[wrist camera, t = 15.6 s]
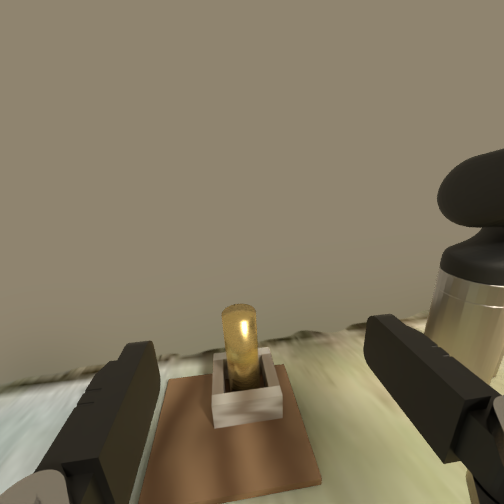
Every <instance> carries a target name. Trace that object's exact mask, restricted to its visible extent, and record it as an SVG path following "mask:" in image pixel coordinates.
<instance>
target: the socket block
mask: <svg viewBox="0 0 504 504" xmlns="http://www.w3.org/2000/svg"><path fill="white" fill-rule="evenodd" d="M258 359H259V376H260V388H259V389H251V390H244V391H237V392H230V383H229V375H228V366H227V357H226V352H223V353H214V354H213V374H206V375H198V376H191V377H183V378H176V379H169V382H168V386H167V390H166V394H165V398H164V402H163V406H162V410H161V414H160V418H159V422H158V426H157V430H156V434H155V438H154V442H153V446H152V450H151V454H150V458H149V462H148V466H147V470H146V474H145V478H144V482H143V486H142V490H141V494H140V498H139V502H138V504H221V503H226V502H231V501H237V500H242V499H247V498H252V497H258V496H263V495H268V494H273V493H279V492H284V491H289V490H294V489H300V488H305V487H310V486H315V485H321V481H322V478H321V475H320V472H319V469H318V466H317V463H316V460H315V457H314V454H313V451H312V448H311V445H310V442H309V439H308V436H307V433H306V430H305V427H304V424H303V421H302V417H301V414H300V411H299V408H298V405H297V402H296V399H295V396H294V393H293V390H292V387H291V384H290V381H289V378H288V375H287V372H286V369H285V366H284V364H282V365H274V363H273V359H272V356H271V352H270V349H269V347H263V348H258Z"/></svg>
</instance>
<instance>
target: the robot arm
mask: <svg viewBox="0 0 504 504" xmlns="http://www.w3.org/2000/svg"><path fill="white" fill-rule="evenodd" d="M437 202H438V206H439V209H440V210H441V212H442V214H443V215H444V216H445V217H446V218H447V219H449V220H450V221H452V222H454V223H456V224H458V225H463V226H466V227H480V228H481V227H482V229H481V230H480V231H479V232H478V233H477V234H476V235H475V236H473V237H472V238H470V239H468V240H466V241H463V242H461V243H458V244H455V245H453V246H450V247H448V248H447V249H446V250H445V251H444V252H443V254H442V258H441V262H440V267H439V271H438V276H437V280H436V285H435V289H434V293H433V298H432V302H431V306H430V310H429V315H428V319H427V323H426V327H425V332H424V334H423V333H421V332H419V331H417V330H415V329H413V328H411V327H409V326H406V325H405V324H404V323H402V322H401V321H400V320H399V319H397V318H396V317H395V316H394V315H392V314H385V315H376V316H370V317H369V318H368V320H367V326H366V334H365V341H364V349H363V351H364V357H365V360H366V362H367V364H368V366H369V367H370V369H371V370H372V371H373V373H374V374H375V375H376V376H377V378H378V379H379V380H380V382H381V383H382V384H383V386H384V387H385V388H386V389H387V391H388V392H389V393H390V395H391V396H392V397H393V399H394V400H395V401H396V402H397V404H398V405H399V406H400V408H401V409H402V410H403V412H404V413H405V414H406V416H407V417H408V418H409V419H410V421H411V422H412V423H413V425H414V426H415V427H416V429H417V430H418V431H419V432H420V434H421V435H422V436H423V438H424V439H425V440H426V442H427V443H428V444H429V445H430V447H431V448H432V449H433V451H434V452H435V453H436V455H437V456H438V457H439V458H440V460H441V461H442V462H443V464H446V463H452V462H457V461H461V462H462V463H463V464H464V465H465V466H466V468H467V472H466V482H467V486H468V491H469V495H470V500H471V504H504V395H503V396H502V395H501V394H499V393H498V392H497V391H496V390H494V389H493V388H492V387H490V386H489V384H490V382H491V379H492V377H496V374H497V372H498V369H499V366H500V364H501V361H502V358H503V356H504V149H501V150H497V151H493V152H489V153H486V154H482V155H478V156H475V157H472V158H469V159H468V160H465V161H464V162H462V163H460V164H459V165H458V166H456V167H455V168H454V169H453V170H452V171H451V172H450V173H449V174H448V175H447V176H446V178H445V179H444V180H443V182H442V184H441V185H440V188H439V191H438V195H437ZM159 391H160V373H159V368H158V363H157V359H156V354H155V349H154V345H153V342H152V341H143V342H135V343H128V344H127V345H126V346H125V347H124V349H123V351H122V353H121V355H120V356H119V358H118V360H117V361H109V362H108V363H107V364H106V365H105V366H104V367H103V368H102V369H101V370H100V371H99V372H98V373H97V374H95V376H94V377H93V379H92V381H91V382H90V384H89V385H88V387H87V389H86V390H85V393H84V394H83V395H82V397H81V398H80V400H79V401H78V403H77V407H75V408H74V409H73V411H72V413H71V414H70V416H69V417H68V419H67V421H66V422H65V424H64V426H63V427H62V429H61V430H60V432H59V434H58V435H57V437H56V438H55V440H54V442H53V443H52V445H51V446H50V448H49V450H48V451H47V453H46V454H45V456H44V458H43V459H42V461H41V462H40V464H39V466H38V467H37V469H36V470H35V472H34V473H33V474H31V475H29V476H27V477H25V478H23V479H22V480H20V481H18V482H17V483H15V484H14V485H13V486H11V487H10V488H9V489H7V490H6V491H5V492H4V493H3V494H1V495H0V504H129V500H130V497H131V493H132V489H133V486H134V482H135V479H136V475H137V471H138V468H139V464H140V461H141V457H142V453H143V450H144V446H145V443H146V439H147V436H148V432H149V428H150V425H151V421H152V418H153V414H154V410H155V407H156V403H157V400H158V396H159Z"/></svg>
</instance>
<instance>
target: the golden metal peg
mask: <svg viewBox="0 0 504 504" xmlns="http://www.w3.org/2000/svg"><path fill="white" fill-rule="evenodd" d="M222 322H223V331H224V339H225V349H226V357H227V366H228V375H229V383H230V392H237V391H244V390H251V389H259V388H260V376H259V359H258V342H257V326H256V311H255V309H254V308H253V307H252V306H250V305H247V304H234V305H231V306H229V307H227V308H225V309H224V311H223V312H222Z"/></svg>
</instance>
